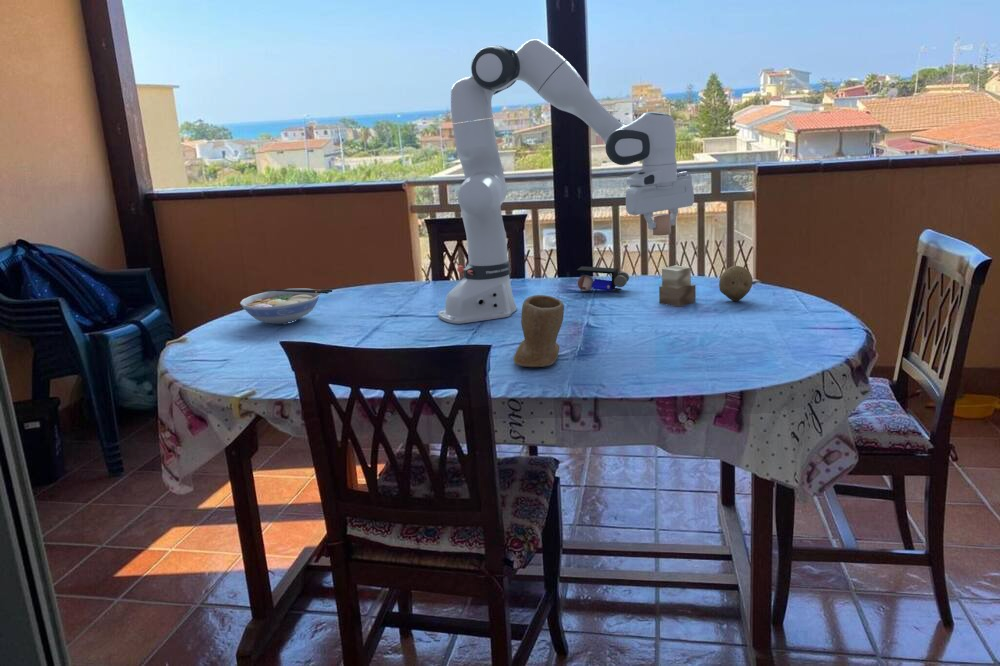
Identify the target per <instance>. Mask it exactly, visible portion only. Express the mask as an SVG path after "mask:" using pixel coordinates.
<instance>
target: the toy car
mask: <svg viewBox="0 0 1000 666" xmlns="http://www.w3.org/2000/svg"><path fill="white" fill-rule="evenodd" d="M618 271H619V268H617V267H615V268H614V267H598V266H597V267H596V266H583V265H582V266H580V267H579V268H577V269H576V273H594V274H609V275H611V280H607V279H599V278H593V277H592V276H591V275H589V274H588V275H587V274H583V275H581V276H580V277H578V279H577V287H578V288H579V290H580V291H582V292H589V291H591V290H592V289H593V290H601V291H610V292H611V293H620V292H621V291H622V290H623V289H622V288H623V287H625V286H626V285H627V283H628V281H629V280H630V275H629V274H628V273H627V272H625V271H621V272H619V273H618Z"/></svg>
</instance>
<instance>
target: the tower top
mask: <svg viewBox="0 0 1000 666" xmlns="http://www.w3.org/2000/svg"><path fill="white" fill-rule="evenodd" d="M691 269H692V267H689V266H683V265H676V264H675V265H672V266H667V267H663V268H661V286H664V287H670V288H675V289H679V288H682V287H686V286H690V285H691V284H692V279H691V277H692V275H691V274H692V273H691V272H692V271H691Z"/></svg>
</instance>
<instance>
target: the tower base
mask: <svg viewBox="0 0 1000 666" xmlns="http://www.w3.org/2000/svg"><path fill="white" fill-rule="evenodd" d="M658 290H659V291H658V292H659V293H658V294H659V296H658V298H659V301H658V302H659V304H661V303H662V305H666V304H667V306H673V307H677V308H680V307H683V306H686V305H690V304H694V303H696V302H697V301H696V284H694V283H693V284H692V283H691V285H690V286H686V287H682V288H679V289H675V288H670V287H664V286H662V285H660V286H658Z"/></svg>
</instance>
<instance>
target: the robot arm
mask: <svg viewBox="0 0 1000 666" xmlns="http://www.w3.org/2000/svg"><path fill="white" fill-rule="evenodd" d="M470 71H471V75H470V76H468V77H464V78H461V79H458V81H456V82H454V84H453V85H452V87H451V91H450V113H451V122H452V129H453V130H452V131H453V135H454V142H455V148H456V154H457V157H458V159H459V161H460V164H461V168H462V172H463V174H464V179H465V180H464V181H462V183H461V185H460V187H459V190H458V193H457V202H458V204H459V207H460V212H461V217H462V222H463V226H464V230H465V235H466V237H465V238H466V245H467V255H468V256H467V257H468V263H467V264H466V266H465V265H464V266H463V265H461V264H460V265H458V266H457V268H456V270H457V271H456V272H458V273H460V274H463V278H462V279H461V280H460V281H459V282H458V283H457V284H456V285H455V286H454V287H453V288H452V289H451V290H450V291H449V292H448V293H447V295H446V299H445V309H443V310H440V311H439V312H438V313H437V314H438V318H439V319H440V320H441V321H444V322H447V323H450V324H455V325H456V324H457V325H460V324H469V323H476V322H480V321H481V322H482V321H488V320H495V319H503V318H509V317H510V316H511V315H512V314H513V313H514V312H516V311H517V309H518V307H517V305H516V301H515V298H514V295H513V290H512V285H511V265H510V260H509V259H508V258H509V257H508V255H509V254H508V239H507V231H506V229H505V226H504V225H505V224H504V220H503V215H502V209H501V208H502V207H501V206H502V204H503V203H504V202H505V200H506V199H507V198H506V197H507V193H508V192H507V191H508V185H507V183H506V179H505V173H504V169H503V164H502V162H501V161H502V160H501V158H500V153H499V150H498V149H499V148H498V142H497V138H496V129H495V121H494V116H493V110H492V109H493V108H492V99H493V96H494V95H496V94H499V93H500V92H502V91H504V90H507V89H509V88H510V87H512V86H513V85H514V84H515V82H517V81H521V82H524V83H526V84H527V85H528V86H529V87H530V88H531V89H532V90H534V91H535V93H537V94H538V95H539V96H540V97H541V98H542V99H544V101H546V102H547V103H548V104H549V105H551V106H553V107H554V108H556V109H558V110H559V111H562V112H566V113H569V114H572V115H574V116H575V117H577V118H578V119H580V120H582V121H583V122H584V124H586V125H587V126H589V128H590V129H592V130H593V132H594V133H596V134H597V135H598V136H599V137H600V138H601V139H602V140H603V142H604V144H605V153H606V155H607V157H608V159H609V160H610V161H611V162H612V163H614V164H615V165H618V166H630V165H631V164H635V163H636V162H637V163H638V162H641V163H642V164H641V166H642V167H641V168H642V169H639V170H638V171H636V172H635V173H632V174H631V175H629V176H627V178H626V185H627V186H628V187H627V189H626V191H625V210H626V212H627V214H628V215H631V216H640V215H643V218H644V219H645V221H646V223H647V229H648V230H650V231H651V230H652V231H653V229H656V222H653V220H652V217H653V215H654V213H657V212H662V211H663V212H664V211H668V210H669V214H670V218H671V227H672V226H673V227H674V226H675V224H676V218H677V216H678V214H679V209H681V208H685V207H692V206H693V204H694V203H695V194H694V187H693V182H692V181H693V179H692V175H691V173H689V172H688V171H681V172H679V171H678V169H677V158H676V147H677V135H676V127H675V125H676V124H675V121H674V118H673V117H672V116H671V115H669V114H668V113H665V112H656V111H646V112H643V114H642V115H641V116H639V117H638V118H636V119H635V120H633V121H632V122H630V123H627V124H626V123H623V122H622V121H620V120H618V118H616V116H614V115H613V114H612V113H611V112H610V111H609V110H607V108H605V107H604V106H603V105H602V104H601V102H599V101H598V100H597V99H596V98H595V97H594V95H593V94H592V92H591V90H590V89H589V87H588V85H587V84H586V82H585V81H584V80H583V78H582V76H581V75H580V73H579V72H578V71H577V70H576V68H575V67H574V66H573V65H572V64H571V63H570V62H569V61H568V60H567V59H566V58H565V57H564V56H563V55H561V54H560V53H559V52H558V51H557V50H555V49H554V48H553V47H551V46H550V45H548V44H547V43H546V42H543V41H542V40H540V39H537V38H536V39H535V38H534V39H533V38H532V39H529V40H527V41H526V42H524V43H523V44H522V45H521V46H520V47H518V49H517V50H515V49H510V48H506V47H504V46H501V45H489V46H484V47H482V48H481V49H479V50H478V51H477V52H476V53H475V55H474V56H473V58H472V60H471V64H470Z"/></svg>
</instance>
